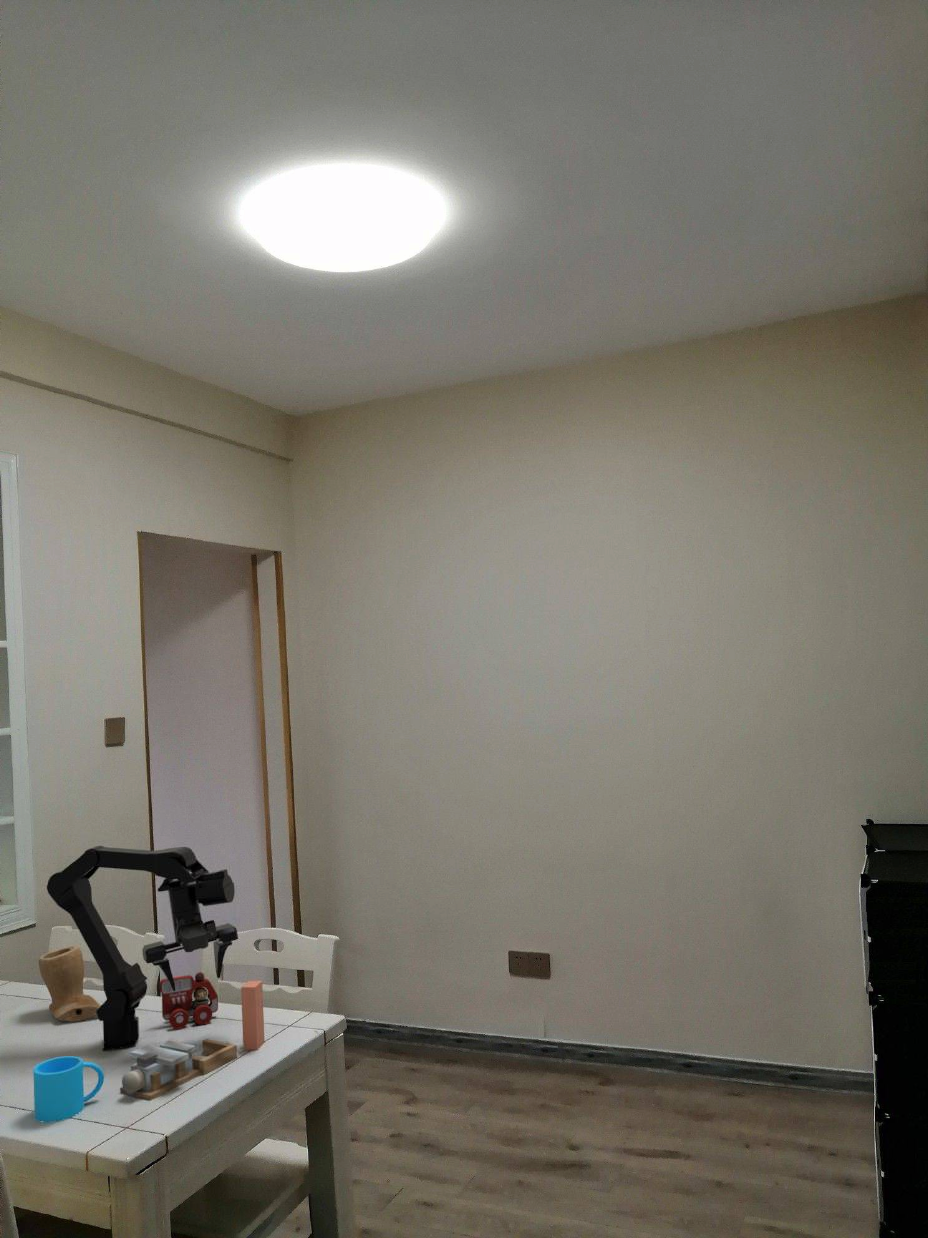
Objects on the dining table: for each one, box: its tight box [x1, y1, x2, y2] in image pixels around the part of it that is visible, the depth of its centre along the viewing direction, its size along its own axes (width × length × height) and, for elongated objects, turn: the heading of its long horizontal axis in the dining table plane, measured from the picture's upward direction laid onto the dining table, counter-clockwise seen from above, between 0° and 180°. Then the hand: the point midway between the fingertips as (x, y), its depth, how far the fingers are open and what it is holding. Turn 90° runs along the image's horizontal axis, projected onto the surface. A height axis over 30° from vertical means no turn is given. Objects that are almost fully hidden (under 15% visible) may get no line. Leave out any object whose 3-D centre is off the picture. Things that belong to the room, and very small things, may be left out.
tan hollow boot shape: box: [38, 945, 101, 1023], centre depth 229 cm, size 15×12×15 cm
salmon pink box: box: [240, 980, 266, 1051], centre depth 204 cm, size 3×4×12 cm
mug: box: [32, 1055, 105, 1123], centre depth 178 cm, size 12×8×8 cm
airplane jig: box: [119, 1038, 238, 1101], centre depth 191 cm, size 23×11×6 cm, turn 149°
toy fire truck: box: [158, 971, 219, 1030], centre depth 220 cm, size 7×12×10 cm, turn 113°
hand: (196, 984), depth 207 cm, fingers open, 9 cm apart
